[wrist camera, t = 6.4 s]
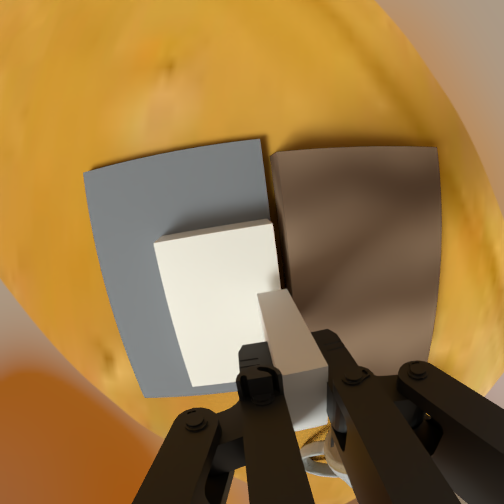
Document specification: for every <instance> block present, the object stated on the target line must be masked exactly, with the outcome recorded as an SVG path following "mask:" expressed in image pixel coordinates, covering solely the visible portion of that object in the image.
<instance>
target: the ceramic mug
mask: <svg viewBox="0 0 504 504" xmlns="http://www.w3.org/2000/svg"><path fill="white" fill-rule="evenodd" d="M330 438H331V428H330V429H329V431H328V433H327V435H326V438H325V440H323V441H322V440H321V441H315V442H312V443H309V444H306V445H305V446H303V447H302V448H301V450H300V453H301V456H302V460H303V464H304V467H305V471H306V472H308V473H310V474H314V475H318V476H324V477H339V478H341V479H342V480H344V481H345V482H346V483H347V484H348V485H349V486H350V487H351V488H352V485H351V483H350V480H349V478H348V475H347V473H346V470H345V468H344V465H343V463H342V460H341V458H340V455H339V453H338V450H337V448H336V445H335V443H334V447H331V446H330ZM317 455H325V458H326V461H327V463H328V464H326V463H320V462H316V461H313V460H312V459H310V457H312V456H317Z"/></svg>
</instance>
